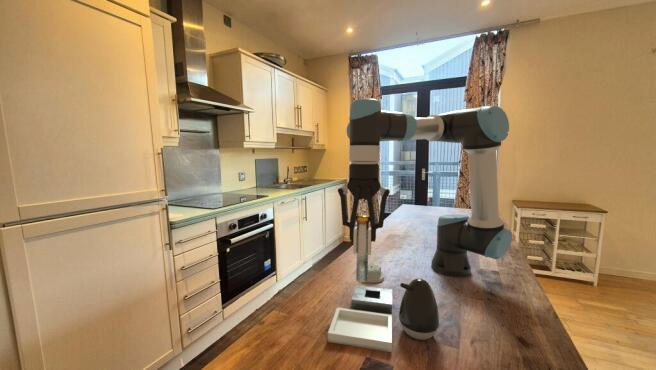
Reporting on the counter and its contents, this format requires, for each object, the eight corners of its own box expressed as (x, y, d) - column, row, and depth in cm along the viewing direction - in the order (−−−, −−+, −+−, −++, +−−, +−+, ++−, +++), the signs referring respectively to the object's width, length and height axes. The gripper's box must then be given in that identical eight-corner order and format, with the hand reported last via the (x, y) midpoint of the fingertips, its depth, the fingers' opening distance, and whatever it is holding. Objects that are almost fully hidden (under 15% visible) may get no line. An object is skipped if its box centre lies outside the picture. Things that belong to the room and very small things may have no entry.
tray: (391, 322, 78) (391, 314, 78) (391, 352, 66) (391, 342, 66) (337, 315, 82) (337, 307, 81) (327, 341, 70) (327, 332, 70)
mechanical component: (357, 282, 103) (384, 284, 101) (357, 271, 103) (384, 273, 101) (359, 271, 113) (383, 273, 111) (359, 261, 113) (384, 262, 111)
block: (391, 302, 89) (392, 289, 88) (391, 318, 80) (392, 304, 79) (355, 298, 91) (355, 285, 91) (351, 313, 83) (351, 299, 82)
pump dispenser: (392, 322, 78) (394, 271, 76) (427, 320, 79) (429, 270, 77) (405, 347, 68) (407, 289, 66) (445, 345, 69) (448, 288, 67)
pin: (369, 277, 74) (370, 215, 72) (368, 283, 70) (369, 218, 68) (356, 276, 74) (357, 214, 73) (354, 282, 71) (355, 217, 69)
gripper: (396, 162, 71) (393, 250, 73) (336, 162, 74) (335, 245, 77) (396, 163, 63) (393, 260, 66) (329, 163, 67) (329, 254, 70)
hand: (362, 252), depth 71 cm, fingers closed on pin, 3 cm apart
